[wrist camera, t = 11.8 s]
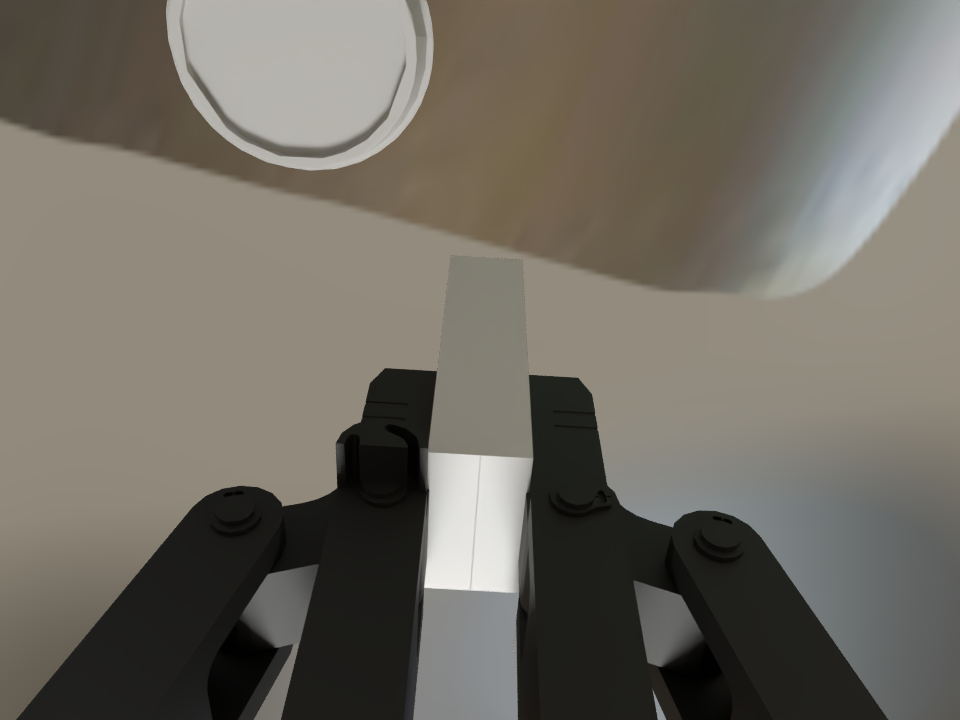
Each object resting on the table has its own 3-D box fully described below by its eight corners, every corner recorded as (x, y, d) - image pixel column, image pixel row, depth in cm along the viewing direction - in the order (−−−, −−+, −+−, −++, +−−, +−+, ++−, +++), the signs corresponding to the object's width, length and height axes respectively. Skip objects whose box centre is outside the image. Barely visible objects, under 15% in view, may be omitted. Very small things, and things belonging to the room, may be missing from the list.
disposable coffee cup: (232, -128, 37) (130, -114, 27) (450, -120, 37) (431, -102, 27) (256, 93, 42) (177, 176, 32) (447, 101, 42) (430, 186, 32)
